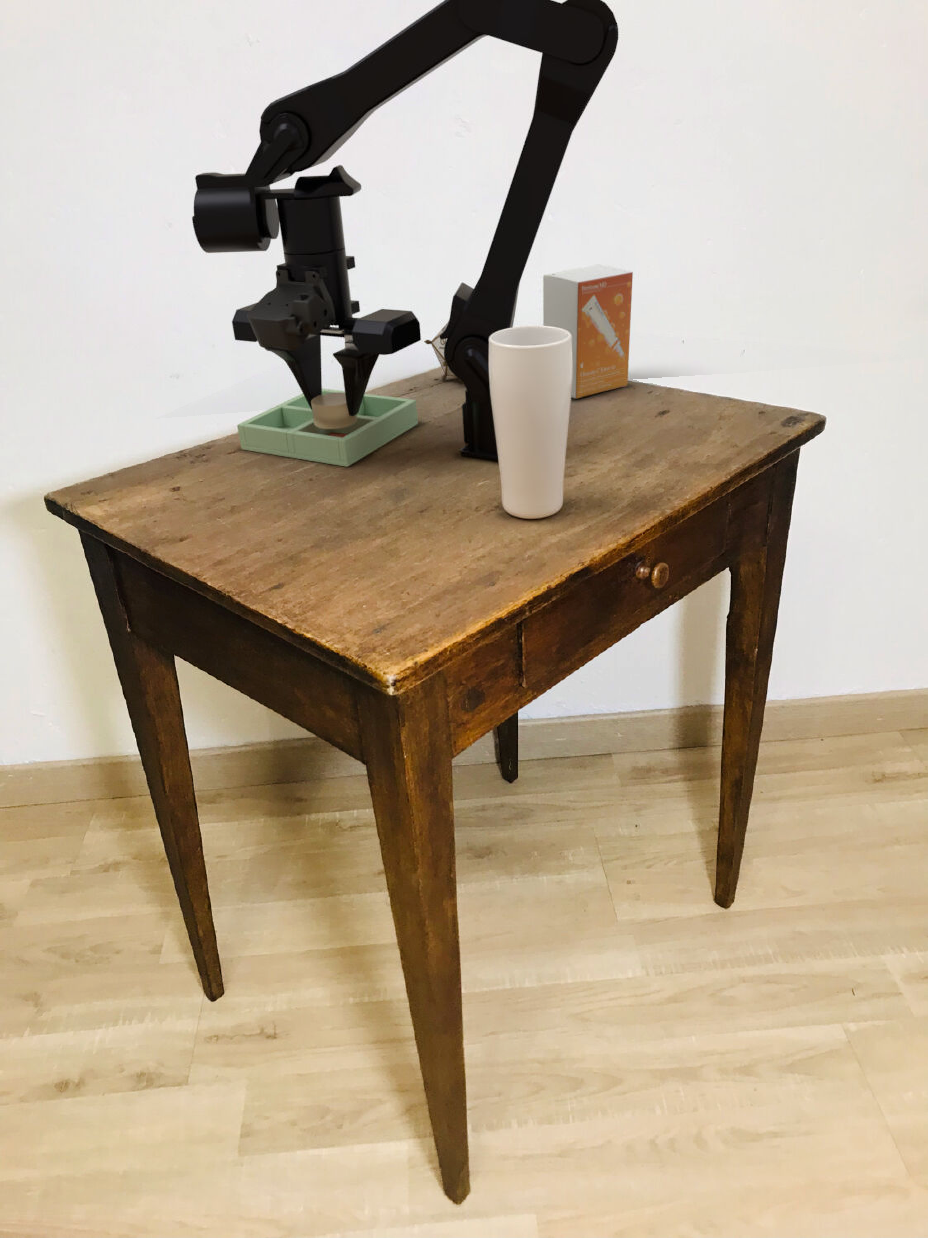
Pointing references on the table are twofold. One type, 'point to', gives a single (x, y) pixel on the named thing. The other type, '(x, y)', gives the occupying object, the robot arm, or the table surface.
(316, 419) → the cylinder
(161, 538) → the table surface
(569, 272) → the small box
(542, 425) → the drinking glass
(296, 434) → the grid
